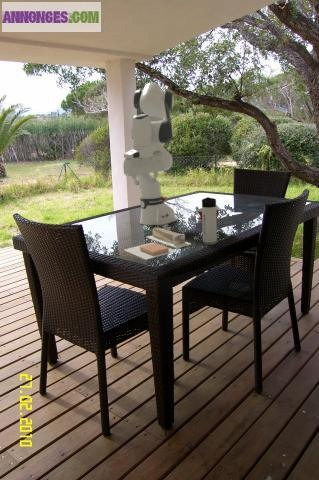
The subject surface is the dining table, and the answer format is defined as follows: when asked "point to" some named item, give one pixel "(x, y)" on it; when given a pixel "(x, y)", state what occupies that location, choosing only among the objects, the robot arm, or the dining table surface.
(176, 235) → the beige rectangular bar
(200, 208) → the plastic cup
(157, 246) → the tile
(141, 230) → the dining table surface
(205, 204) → the travel mug
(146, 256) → the mat
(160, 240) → the board
